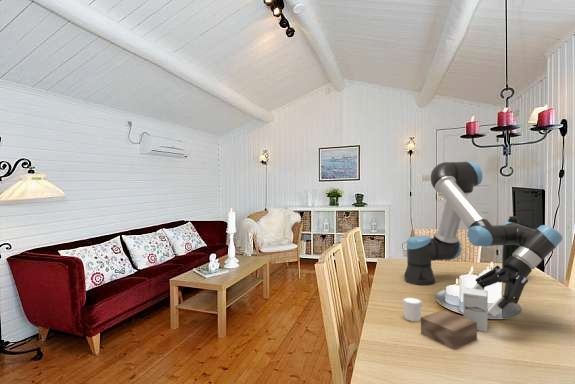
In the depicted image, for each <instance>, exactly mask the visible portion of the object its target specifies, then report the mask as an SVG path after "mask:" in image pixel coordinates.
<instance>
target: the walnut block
mask: <svg viewBox="0 0 575 384" xmlns="http://www.w3.org/2000/svg"><path fill="white" fill-rule="evenodd" d="M422 334H423V335H422ZM420 335H422V336H424V337H426V336H427V337H426V338H428V337H429V338H428V339H431V340H433V341H435V342H437V343H440V344H441V345H443V346H445V345H446V347H447V348H450V349H452V350H453V351H455V350H457V349H460V348H462V347H464V346H466V345H468V344H470V343H472V342H475V341H477V340H478V330H477V322H475V321H472V320H469V319H466V318H464V317H463V316H460V315H458V314H455V313H452V312H450V311H446V310H444V309H441V310H439V311H437V312H433V313H429V314H427V315H424V316H421V319H420ZM459 347H460V348H459Z"/></svg>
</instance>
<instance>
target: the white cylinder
mask: <svg viewBox="0 0 575 384" xmlns="http://www.w3.org/2000/svg"><path fill="white" fill-rule="evenodd" d="M422 303H423V301H422V300H421V299H419V298H417V297H404V298H402V305H403V313H404V314H403V315H404V316H403V317H404V319H405V320H406V319H407V321H409V320H410V322H413V321H417V322H421V317H422V307H423V306H422Z"/></svg>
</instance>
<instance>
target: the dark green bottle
mask: <svg viewBox="0 0 575 384" xmlns="http://www.w3.org/2000/svg"><path fill="white" fill-rule="evenodd" d="M507 222H511V223H517V224H519V219H518V216H515V215H514V216H513V215H511V216H509V217H508V220H507ZM519 247H520V246H518V245H502V251H501V269H502V268H504V267H505V265H504V262H505V261H506V260H507V259H508V258H509V257H510V256H512V254H513V253H514V252H515V251H516V250H517V249H518V248H519Z"/></svg>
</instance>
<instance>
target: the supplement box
mask: <svg viewBox="0 0 575 384" xmlns="http://www.w3.org/2000/svg"><path fill="white" fill-rule="evenodd" d="M488 292H489V291H488V290H485V289H484V290H479V289H473V287H464V288H463V294H462V295H463V296H462V297H463V299H462V300H463V301H462V302H463V307H462V309H463V311H462V313H463V316H462V317H464V318H466V319H469V320H472V321H475V322H477V331H480V332H485V333H488V311H487V310H488Z"/></svg>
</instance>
